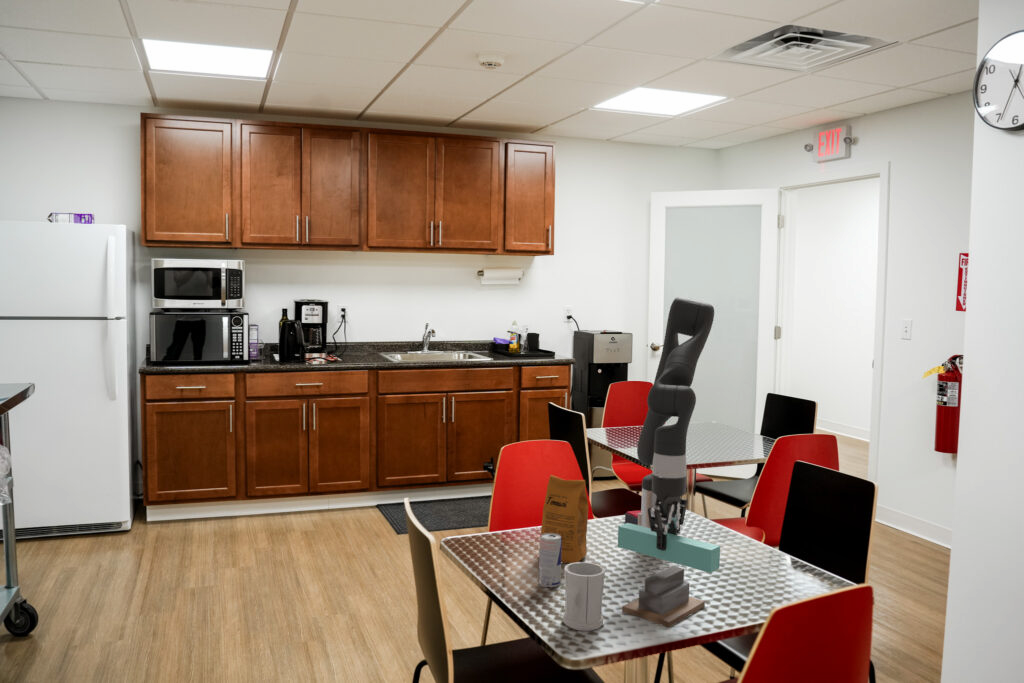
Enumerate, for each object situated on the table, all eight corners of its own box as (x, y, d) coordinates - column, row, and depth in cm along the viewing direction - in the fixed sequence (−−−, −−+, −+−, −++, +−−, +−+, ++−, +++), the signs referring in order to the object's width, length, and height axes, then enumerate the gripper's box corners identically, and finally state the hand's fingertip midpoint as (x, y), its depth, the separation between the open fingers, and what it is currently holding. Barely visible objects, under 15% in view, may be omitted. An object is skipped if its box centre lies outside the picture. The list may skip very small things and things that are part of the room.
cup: (608, 634, 162) (610, 578, 161) (565, 635, 161) (567, 579, 160) (599, 614, 172) (600, 561, 171) (558, 614, 171) (560, 561, 171)
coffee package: (552, 547, 217) (554, 470, 216) (591, 556, 210) (594, 477, 209) (534, 557, 209) (536, 477, 207) (574, 567, 202) (577, 484, 201)
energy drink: (563, 581, 191) (564, 534, 190) (557, 589, 186) (558, 540, 185) (542, 578, 193) (543, 531, 192) (536, 586, 188) (537, 538, 187)
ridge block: (622, 611, 174) (623, 575, 173) (659, 592, 186) (660, 558, 185) (668, 627, 166) (670, 590, 165) (704, 606, 178) (705, 571, 177)
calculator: (654, 507, 249) (680, 518, 235) (653, 521, 249) (680, 532, 235) (624, 510, 245) (649, 521, 231) (624, 524, 245) (649, 535, 231)
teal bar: (617, 546, 182) (618, 526, 181) (627, 543, 185) (627, 522, 184) (710, 573, 166) (711, 550, 165) (719, 568, 169) (720, 546, 168)
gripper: (670, 465, 182) (668, 537, 183) (637, 474, 171) (635, 550, 172) (699, 470, 177) (696, 544, 178) (667, 480, 166) (664, 558, 167)
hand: (666, 546), depth 175 cm, fingers closed on teal bar, 4 cm apart
